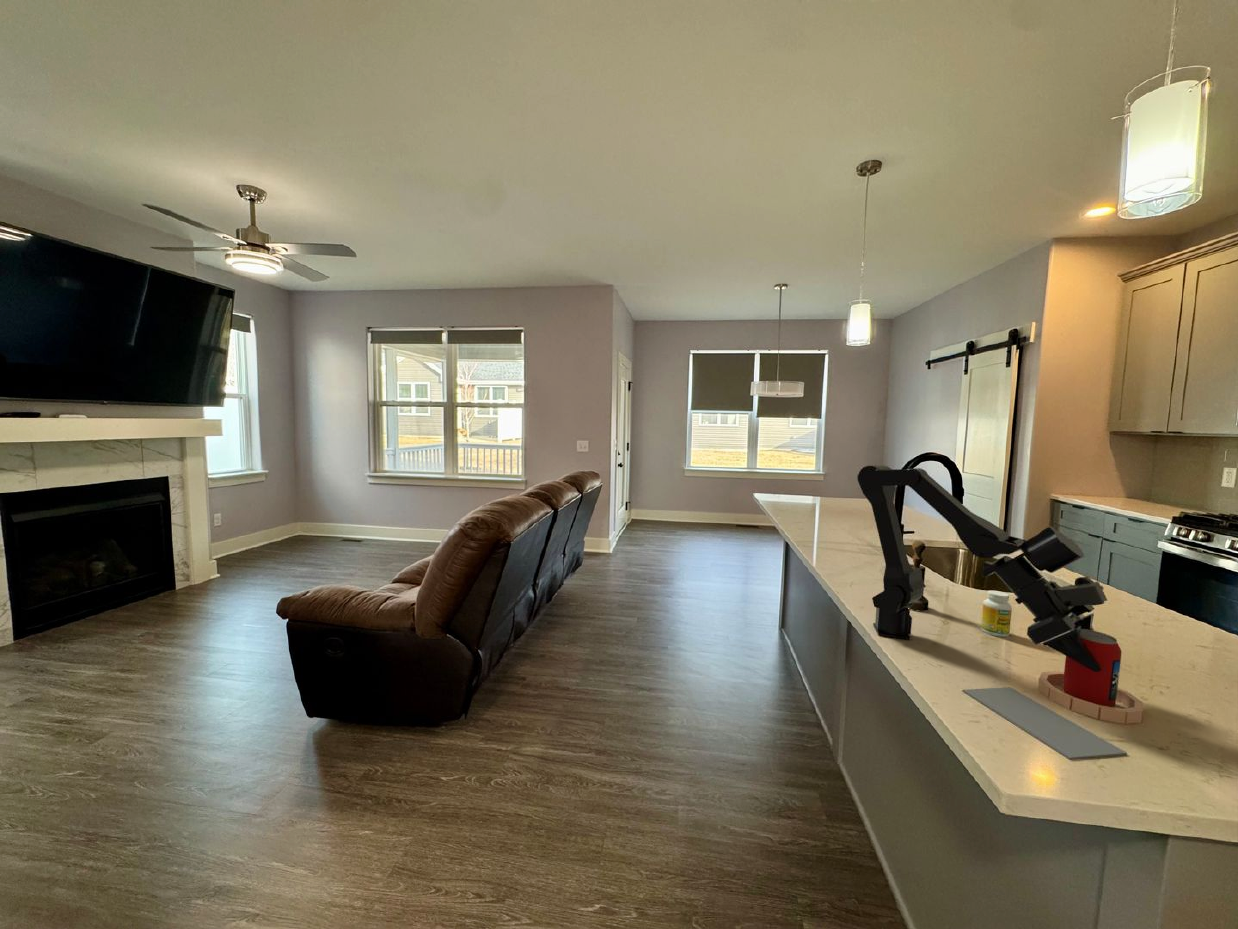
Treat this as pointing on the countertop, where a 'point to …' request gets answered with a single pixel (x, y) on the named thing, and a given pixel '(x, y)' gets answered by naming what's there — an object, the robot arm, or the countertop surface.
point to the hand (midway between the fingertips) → (1103, 665)
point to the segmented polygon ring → (1087, 708)
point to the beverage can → (1091, 683)
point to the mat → (1044, 724)
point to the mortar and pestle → (917, 559)
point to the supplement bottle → (996, 614)
